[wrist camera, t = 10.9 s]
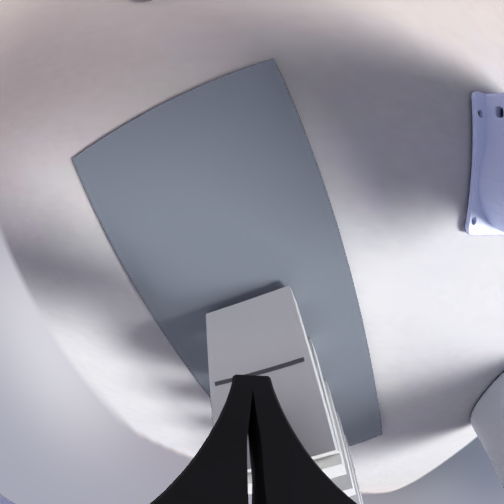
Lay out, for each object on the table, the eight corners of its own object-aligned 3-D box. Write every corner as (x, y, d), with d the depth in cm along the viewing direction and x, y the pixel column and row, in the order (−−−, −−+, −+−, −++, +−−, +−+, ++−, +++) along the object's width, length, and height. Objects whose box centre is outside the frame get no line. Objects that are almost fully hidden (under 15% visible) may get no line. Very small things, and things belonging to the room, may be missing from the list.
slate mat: (75, 158, 14) (72, 159, 14) (273, 60, 12) (273, 58, 12) (269, 463, 25) (269, 466, 25) (381, 431, 23) (382, 434, 23)
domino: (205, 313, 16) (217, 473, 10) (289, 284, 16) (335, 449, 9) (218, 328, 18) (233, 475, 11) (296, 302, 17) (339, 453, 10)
